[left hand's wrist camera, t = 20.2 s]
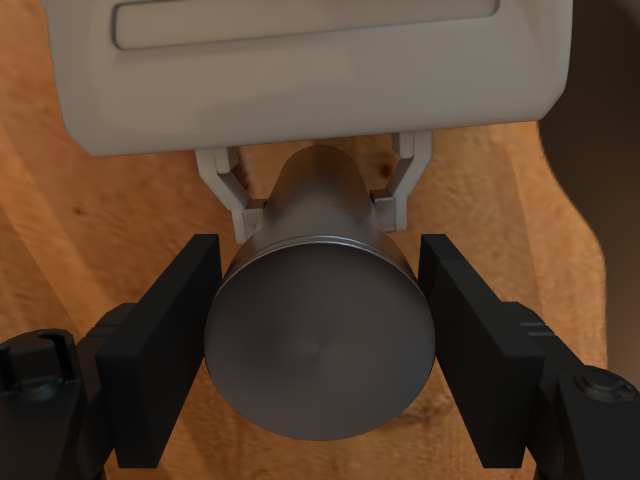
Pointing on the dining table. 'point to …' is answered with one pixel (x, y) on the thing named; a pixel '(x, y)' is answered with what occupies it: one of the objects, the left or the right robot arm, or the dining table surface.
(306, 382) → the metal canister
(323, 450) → the dining table surface
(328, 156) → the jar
